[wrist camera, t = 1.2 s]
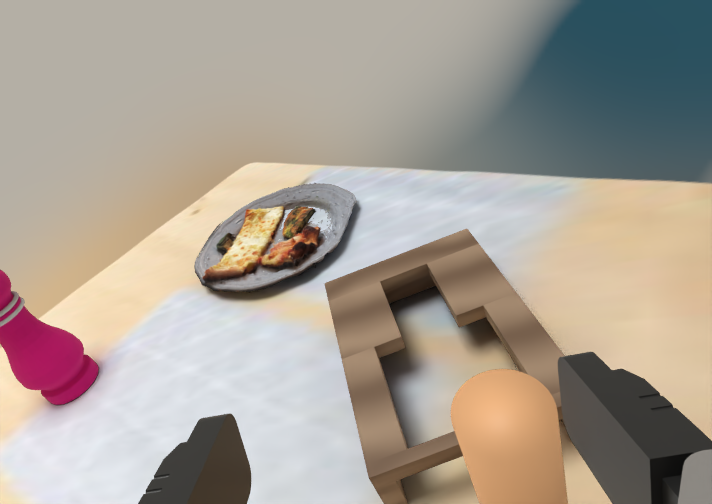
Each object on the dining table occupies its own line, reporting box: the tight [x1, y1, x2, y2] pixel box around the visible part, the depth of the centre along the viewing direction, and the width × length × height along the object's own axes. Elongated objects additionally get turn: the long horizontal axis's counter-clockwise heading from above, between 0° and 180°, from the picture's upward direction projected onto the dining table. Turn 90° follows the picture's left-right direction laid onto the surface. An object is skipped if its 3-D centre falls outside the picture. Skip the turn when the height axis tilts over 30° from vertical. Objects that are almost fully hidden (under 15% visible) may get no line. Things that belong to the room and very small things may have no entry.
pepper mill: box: [0, 270, 98, 405], centre depth 53 cm, size 7×7×20 cm
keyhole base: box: [325, 229, 565, 504], centre depth 42 cm, size 22×16×5 cm
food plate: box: [195, 183, 357, 292], centre depth 69 cm, size 25×23×4 cm
